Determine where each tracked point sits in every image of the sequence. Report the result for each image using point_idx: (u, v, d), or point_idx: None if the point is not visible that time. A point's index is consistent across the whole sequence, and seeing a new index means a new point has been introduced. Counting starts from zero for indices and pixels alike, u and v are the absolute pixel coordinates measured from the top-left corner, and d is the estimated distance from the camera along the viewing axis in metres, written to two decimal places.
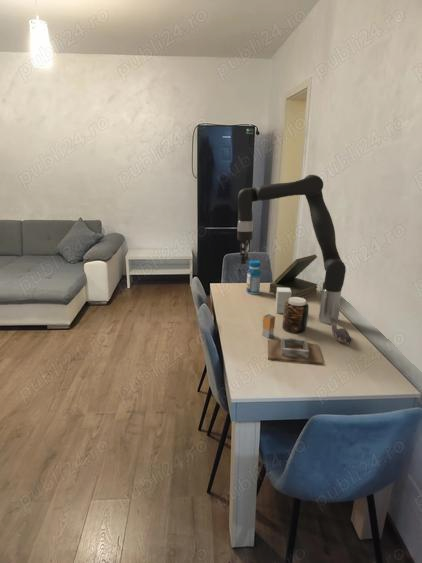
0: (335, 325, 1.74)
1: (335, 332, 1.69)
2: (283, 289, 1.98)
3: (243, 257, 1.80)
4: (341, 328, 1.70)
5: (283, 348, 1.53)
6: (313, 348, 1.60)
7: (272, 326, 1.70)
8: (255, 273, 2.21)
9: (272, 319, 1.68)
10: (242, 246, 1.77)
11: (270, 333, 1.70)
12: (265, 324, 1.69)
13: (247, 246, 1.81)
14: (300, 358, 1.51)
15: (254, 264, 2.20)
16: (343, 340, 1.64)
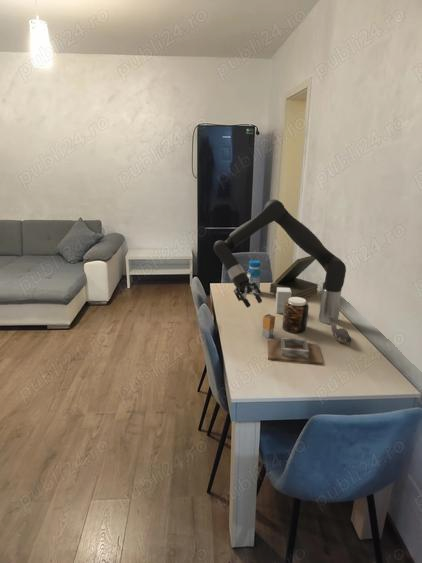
0: (335, 325, 1.74)
1: (335, 332, 1.69)
2: (283, 289, 1.98)
3: (244, 300, 1.71)
4: (341, 328, 1.70)
5: (283, 348, 1.53)
6: (313, 348, 1.60)
7: (272, 326, 1.70)
8: (255, 273, 2.21)
9: (272, 319, 1.68)
10: (235, 291, 1.72)
11: (270, 333, 1.70)
12: (265, 324, 1.69)
13: (244, 288, 1.74)
14: (300, 358, 1.51)
15: (254, 264, 2.20)
16: (343, 340, 1.64)
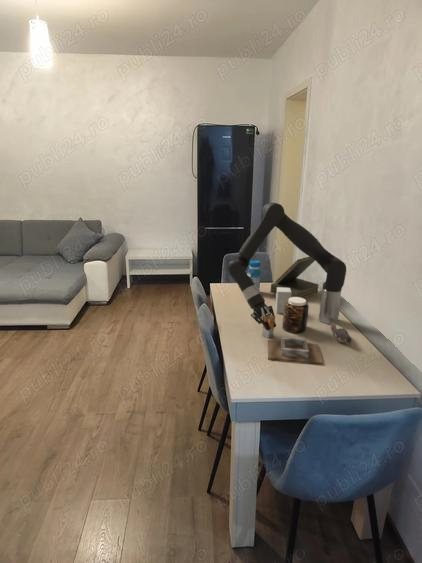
0: (334, 325, 1.74)
1: (335, 332, 1.69)
2: (283, 289, 1.98)
3: (264, 323, 1.68)
4: (341, 328, 1.70)
5: (283, 348, 1.53)
6: (313, 348, 1.60)
7: (272, 326, 1.70)
8: (255, 273, 2.21)
9: (272, 319, 1.68)
10: (253, 316, 1.68)
11: (270, 333, 1.70)
12: None
13: (261, 311, 1.69)
14: (300, 358, 1.51)
15: (254, 264, 2.20)
16: (343, 340, 1.64)
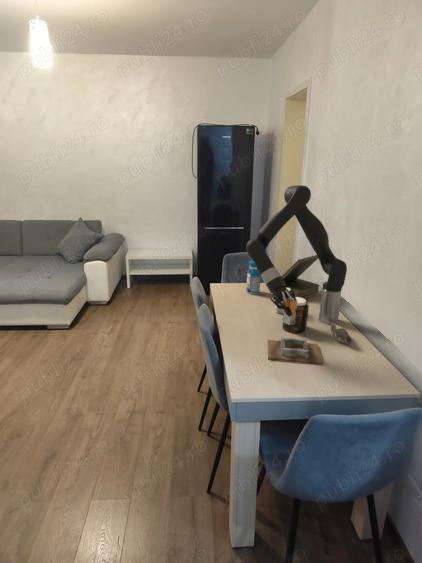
0: (334, 325, 1.74)
1: (335, 332, 1.69)
2: None
3: (285, 309, 1.53)
4: (341, 328, 1.70)
5: (283, 348, 1.53)
6: (313, 348, 1.60)
7: (294, 312, 1.55)
8: (255, 273, 2.21)
9: (294, 304, 1.53)
10: (273, 300, 1.53)
11: (292, 319, 1.55)
12: None
13: (282, 295, 1.54)
14: (300, 358, 1.51)
15: (254, 264, 2.20)
16: (343, 340, 1.64)
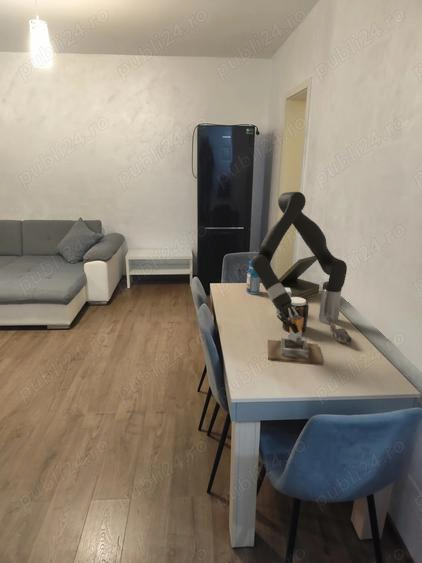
0: (334, 325, 1.74)
1: (334, 332, 1.69)
2: None
3: (291, 326, 1.51)
4: (340, 328, 1.70)
5: (283, 348, 1.53)
6: (313, 348, 1.60)
7: (300, 328, 1.53)
8: (255, 273, 2.21)
9: (300, 321, 1.52)
10: (280, 317, 1.51)
11: (298, 336, 1.53)
12: None
13: (288, 312, 1.53)
14: (300, 358, 1.51)
15: None
16: (343, 340, 1.64)
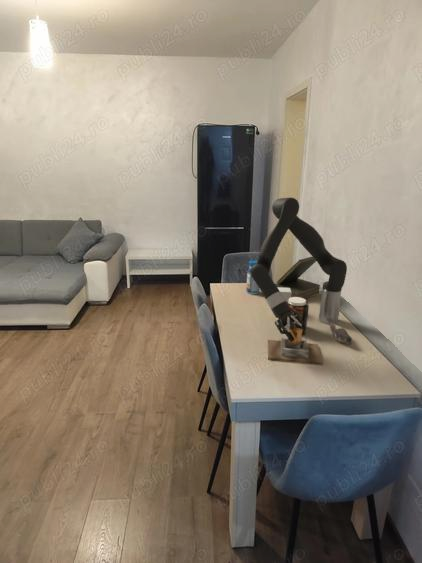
0: (333, 325, 1.74)
1: (334, 332, 1.69)
2: (283, 289, 1.98)
3: (287, 334, 1.52)
4: (340, 328, 1.70)
5: (283, 348, 1.53)
6: (313, 348, 1.60)
7: (299, 340, 1.55)
8: None
9: (299, 333, 1.53)
10: (277, 323, 1.52)
11: (297, 348, 1.55)
12: None
13: (286, 320, 1.54)
14: (300, 358, 1.51)
15: (254, 264, 2.20)
16: (343, 340, 1.64)
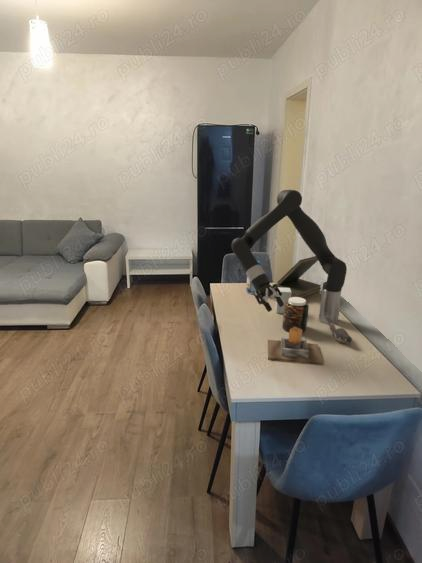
0: (333, 325, 1.74)
1: (334, 332, 1.69)
2: (283, 289, 1.98)
3: (265, 304, 1.57)
4: (340, 328, 1.70)
5: (283, 348, 1.53)
6: (313, 348, 1.60)
7: (299, 340, 1.55)
8: None
9: (299, 333, 1.53)
10: (255, 294, 1.58)
11: (297, 348, 1.55)
12: (291, 338, 1.54)
13: (265, 291, 1.59)
14: (300, 358, 1.51)
15: None
16: (343, 340, 1.64)
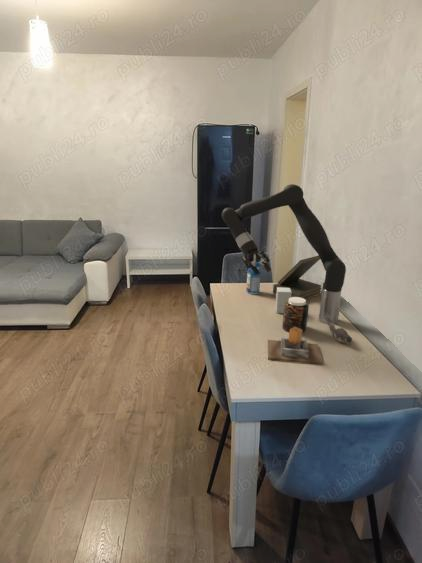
0: (333, 325, 1.74)
1: (334, 332, 1.69)
2: (283, 289, 1.98)
3: (252, 268, 1.68)
4: (340, 328, 1.70)
5: (283, 348, 1.53)
6: (313, 348, 1.60)
7: (299, 340, 1.55)
8: None
9: (299, 333, 1.53)
10: (244, 259, 1.68)
11: (297, 348, 1.55)
12: (291, 338, 1.54)
13: (253, 256, 1.70)
14: (300, 358, 1.51)
15: None
16: (343, 340, 1.64)
